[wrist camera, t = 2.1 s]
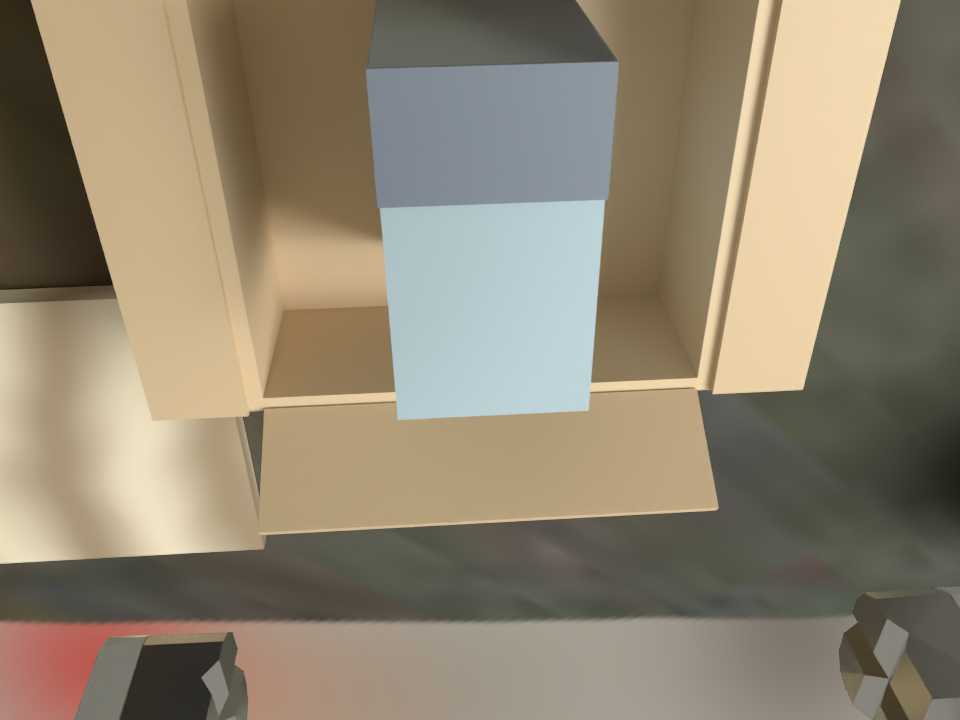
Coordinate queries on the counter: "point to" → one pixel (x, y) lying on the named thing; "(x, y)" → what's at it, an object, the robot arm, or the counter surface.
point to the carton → (360, 255)
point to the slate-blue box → (490, 200)
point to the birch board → (106, 444)
